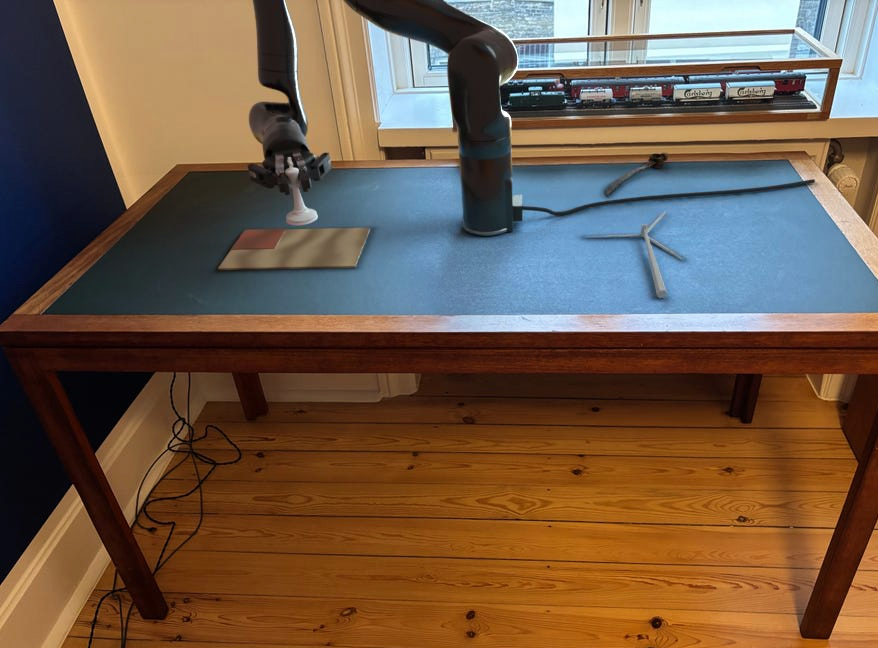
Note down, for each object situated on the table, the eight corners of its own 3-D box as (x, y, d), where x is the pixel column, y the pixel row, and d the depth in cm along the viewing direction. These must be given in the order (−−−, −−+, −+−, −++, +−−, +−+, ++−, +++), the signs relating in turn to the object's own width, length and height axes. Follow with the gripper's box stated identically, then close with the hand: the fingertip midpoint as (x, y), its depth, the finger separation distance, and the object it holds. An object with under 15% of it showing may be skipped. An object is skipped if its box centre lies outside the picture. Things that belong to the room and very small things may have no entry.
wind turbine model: (696, 300, 110) (666, 212, 134) (697, 287, 108) (667, 200, 132) (592, 303, 111) (581, 215, 135) (593, 290, 110) (581, 203, 133)
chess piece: (291, 228, 112) (277, 166, 106) (282, 217, 116) (269, 156, 110) (321, 220, 114) (309, 159, 108) (312, 209, 117) (300, 149, 111)
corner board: (370, 229, 135) (370, 226, 135) (355, 267, 123) (355, 265, 122) (245, 232, 136) (245, 229, 136) (218, 270, 124) (217, 267, 124)
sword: (608, 197, 142) (609, 187, 140) (593, 193, 144) (594, 183, 142) (675, 160, 156) (676, 151, 154) (661, 157, 158) (662, 147, 157)
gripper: (238, 134, 118) (242, 170, 105) (323, 122, 121) (337, 156, 108) (249, 178, 123) (254, 218, 109) (330, 165, 126) (345, 203, 112)
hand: (295, 187), depth 109 cm, fingers closed on chess piece
